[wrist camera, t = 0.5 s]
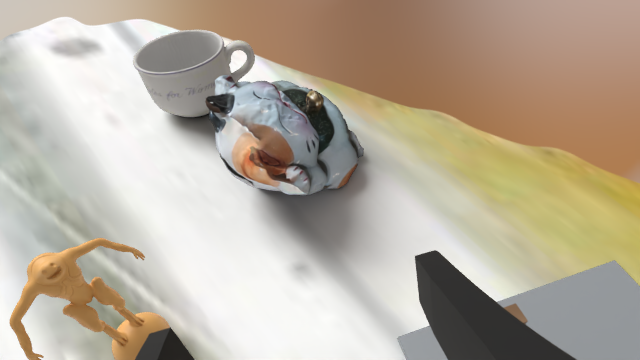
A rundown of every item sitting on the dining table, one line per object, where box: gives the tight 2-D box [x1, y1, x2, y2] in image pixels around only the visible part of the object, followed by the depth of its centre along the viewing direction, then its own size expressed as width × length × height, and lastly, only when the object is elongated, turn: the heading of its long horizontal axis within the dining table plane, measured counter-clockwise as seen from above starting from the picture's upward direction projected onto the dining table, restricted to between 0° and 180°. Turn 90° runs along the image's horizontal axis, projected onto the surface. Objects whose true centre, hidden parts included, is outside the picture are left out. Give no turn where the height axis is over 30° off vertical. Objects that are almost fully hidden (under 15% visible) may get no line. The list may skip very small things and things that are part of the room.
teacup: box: [133, 30, 255, 117], centre depth 47 cm, size 14×11×8 cm
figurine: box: [10, 238, 170, 360], centre depth 25 cm, size 8×6×12 cm
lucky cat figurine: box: [205, 75, 364, 196], centre depth 36 cm, size 15×12×14 cm
